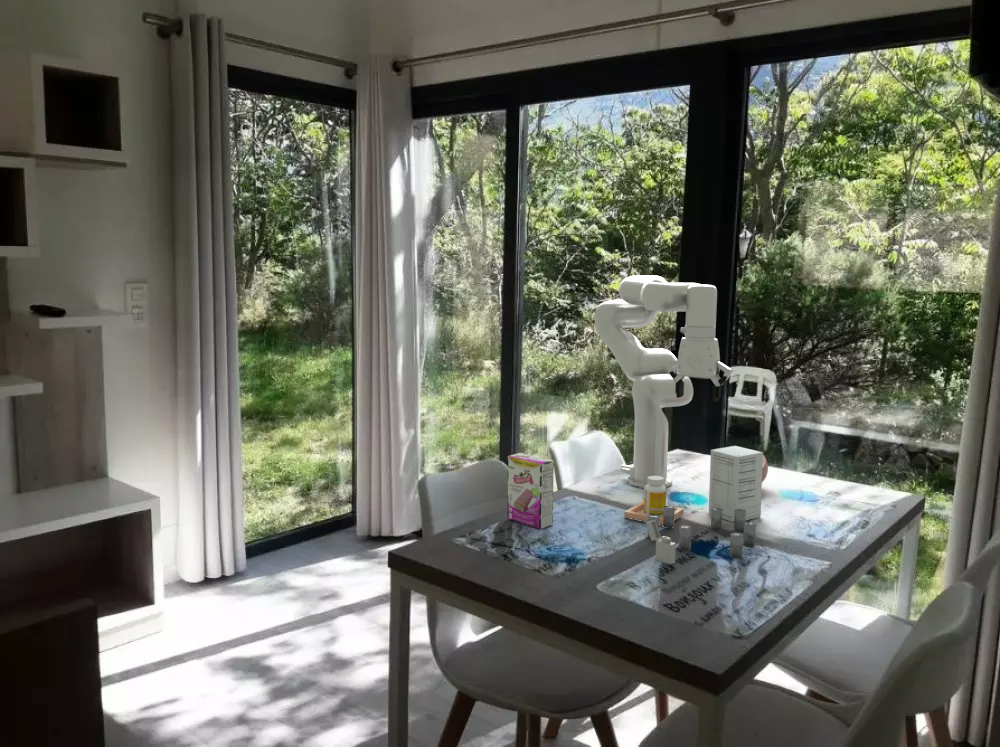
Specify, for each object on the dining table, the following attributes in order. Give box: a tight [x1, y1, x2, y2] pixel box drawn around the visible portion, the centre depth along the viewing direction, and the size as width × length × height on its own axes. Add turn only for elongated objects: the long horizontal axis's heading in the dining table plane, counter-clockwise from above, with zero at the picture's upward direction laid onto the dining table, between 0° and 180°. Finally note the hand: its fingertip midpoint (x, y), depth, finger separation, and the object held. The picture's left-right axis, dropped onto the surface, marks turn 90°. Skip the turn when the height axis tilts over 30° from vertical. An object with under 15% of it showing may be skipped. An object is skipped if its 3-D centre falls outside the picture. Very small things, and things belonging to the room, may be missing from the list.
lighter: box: [645, 520, 677, 565], centre depth 178 cm, size 7×2×8 cm, turn 40°
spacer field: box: [646, 504, 757, 560], centre depth 191 cm, size 23×22×5 cm
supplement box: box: [708, 445, 764, 523], centre depth 207 cm, size 10×9×17 cm
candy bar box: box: [506, 452, 555, 530], centre depth 201 cm, size 11×5×16 cm, turn 47°
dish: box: [624, 500, 685, 525], centre depth 207 cm, size 11×11×2 cm
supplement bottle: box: [643, 476, 667, 517], centre depth 206 cm, size 5×5×10 cm
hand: (697, 398), depth 213 cm, fingers open, 9 cm apart
